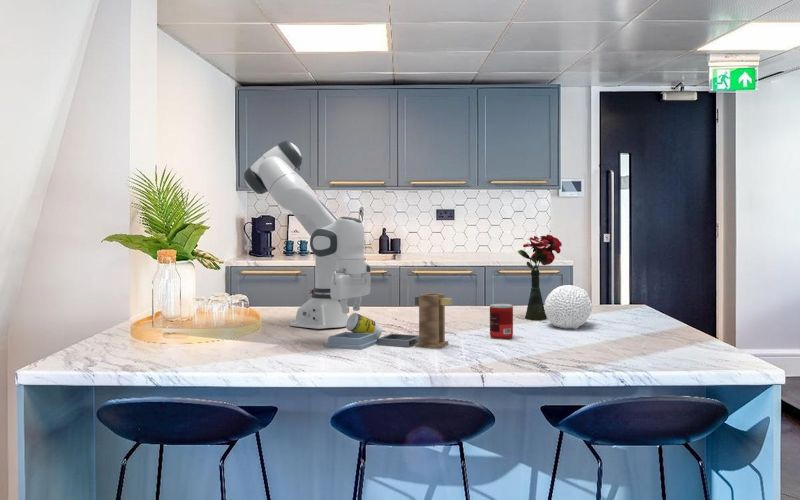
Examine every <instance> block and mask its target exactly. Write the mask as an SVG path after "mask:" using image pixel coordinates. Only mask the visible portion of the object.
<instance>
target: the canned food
mask: <svg viewBox="0 0 800 500" xmlns="http://www.w3.org/2000/svg"><path fill="white" fill-rule="evenodd" d="M513 335H514V306H513V304H509V303H494V304H492V303H491V304H490V305H489V337H490V338H491V339H496V340H508V339H512V338H513Z"/></svg>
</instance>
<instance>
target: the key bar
mask: <svg viewBox="0 0 800 500" xmlns="http://www.w3.org/2000/svg"><path fill="white" fill-rule="evenodd" d="M452 304H453V297H445V298H439V305H445V306H452ZM414 306H419V295H417V296H414Z"/></svg>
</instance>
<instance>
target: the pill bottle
mask: <svg viewBox="0 0 800 500" xmlns="http://www.w3.org/2000/svg"><path fill="white" fill-rule="evenodd" d="M345 327H346V328H345V329H346V330H347V331H348V332H355V333H370V334H375V339H376V340H377V339H378V338H380V337H382V336H381V335H382V334H383V333H382V332H383V326H381V325H379V324H378V323H377V321H376V320H373V319H371V318H368V317H366V316H364V315H363V314H362V315H361V314H360V313H358V312H353V313H351V314H350V316H349V317H348V320H347V324H346V326H345Z"/></svg>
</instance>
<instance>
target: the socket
mask: <svg viewBox="0 0 800 500" xmlns="http://www.w3.org/2000/svg"><path fill="white" fill-rule="evenodd" d="M376 340H377V344H376V345H377V346H386V347H387V346H388V347H399V348H400V347H401V348H411V347H413V346H415V344H416V343H418V342H419V334H418V335H417V334H415V335H414V334H403V333H401V334H399V333H389V334H386V335H383V336H380V337H379V338H378V339H376Z"/></svg>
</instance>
